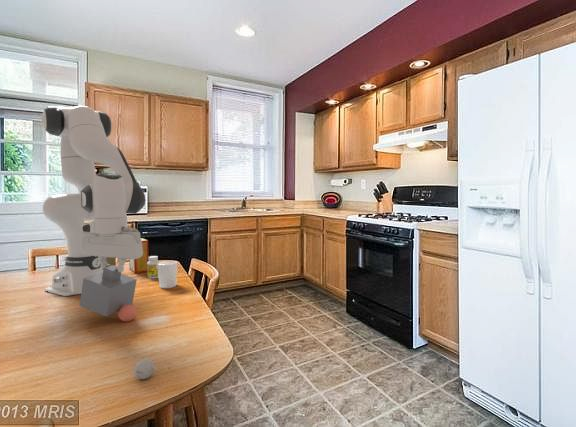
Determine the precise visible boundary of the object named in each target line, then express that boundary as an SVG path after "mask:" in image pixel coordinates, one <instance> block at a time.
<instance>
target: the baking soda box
mask: <svg viewBox="0 0 576 427" xmlns="http://www.w3.org/2000/svg"><path fill="white" fill-rule="evenodd" d="M141 241H142V247H143V255H142V256H141V257H140V258H137V259H128V261H129V271H130V270H131V271H130V272H132V273H133V272H134V273H133V274H135V275H136V273H137V274H142V272H143V273H148V272H147V262H148V261H149V260H148V257H150V255H149V240H148V239H145V238H141Z"/></svg>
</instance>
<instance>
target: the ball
mask: <svg viewBox="0 0 576 427" xmlns="http://www.w3.org/2000/svg"><path fill="white" fill-rule="evenodd" d="M136 315H137V308H136V307H135V306H134V305H133V304H132V305H124V306H123V307H121V308H120V310H119V311H117V317H118V318H119V320H121V321H122V322H131V321H133V320H134V319H135V317H136Z"/></svg>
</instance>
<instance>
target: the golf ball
mask: <svg viewBox="0 0 576 427" xmlns="http://www.w3.org/2000/svg"><path fill="white" fill-rule="evenodd" d="M154 371H155V364H154V361H153V360H151V359H149V358H142V359H140V360H139V361H137V363H136V364H135V366H134V369H133V372H134V376H135V377H136V378H137V379H140V380H147V379H148V378H150V377H151V376H152V375H153V374H154Z"/></svg>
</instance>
